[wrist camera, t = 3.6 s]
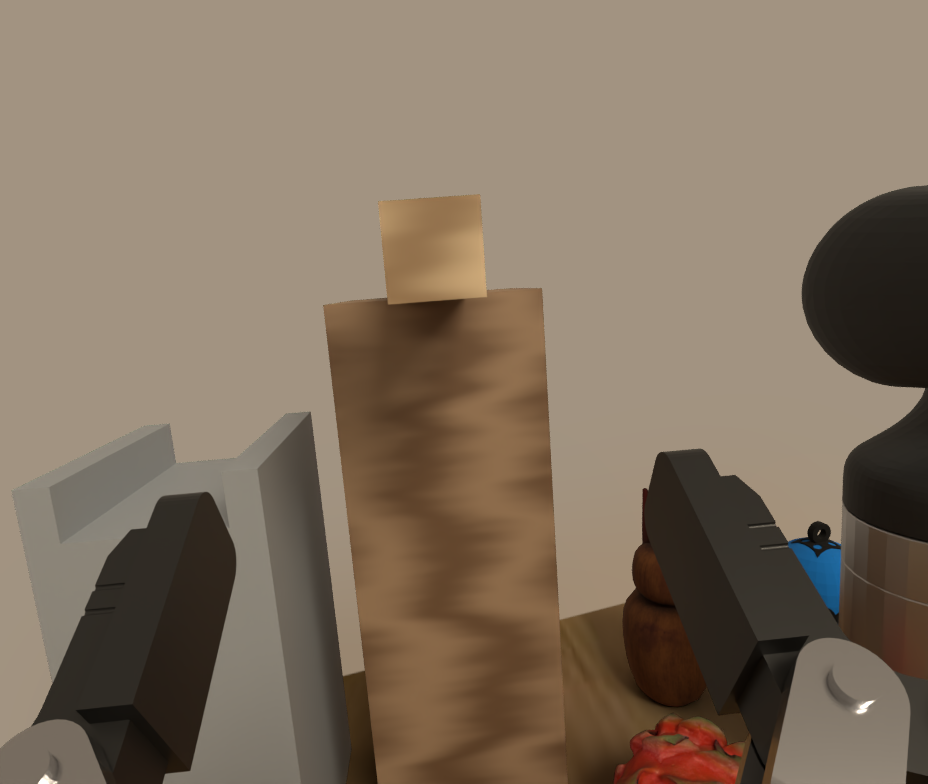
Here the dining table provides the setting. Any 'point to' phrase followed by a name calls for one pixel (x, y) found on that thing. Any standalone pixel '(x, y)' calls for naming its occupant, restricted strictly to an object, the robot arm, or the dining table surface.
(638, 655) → the wooden figurine
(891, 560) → the robot arm
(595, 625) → the dining table surface
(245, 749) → the grey post
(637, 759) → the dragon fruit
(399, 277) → the light wooden block
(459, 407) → the walnut post
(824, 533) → the ornament
